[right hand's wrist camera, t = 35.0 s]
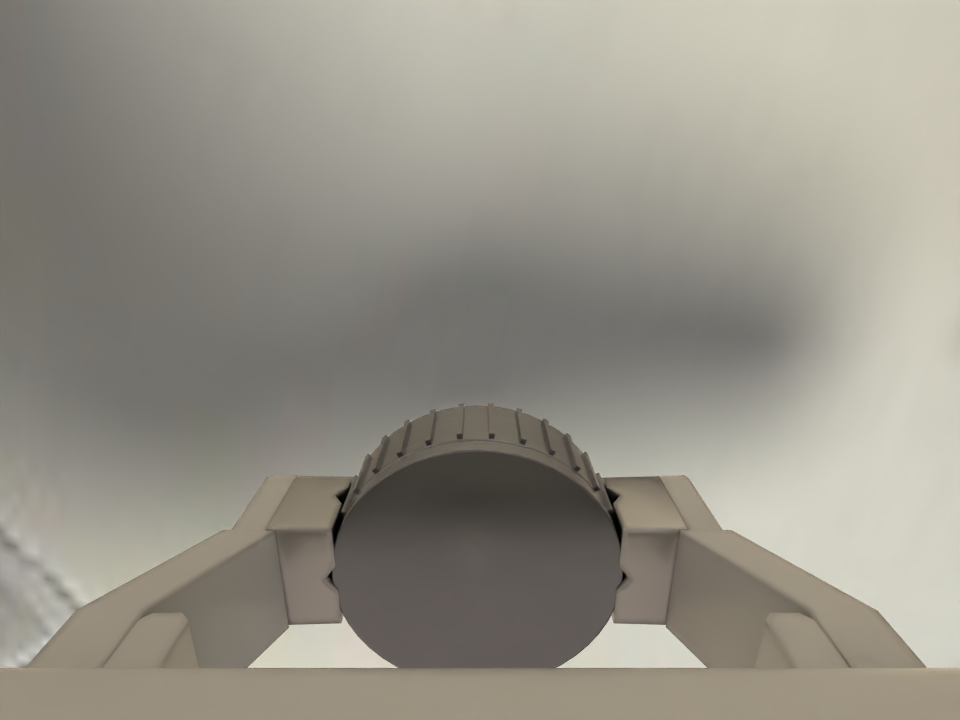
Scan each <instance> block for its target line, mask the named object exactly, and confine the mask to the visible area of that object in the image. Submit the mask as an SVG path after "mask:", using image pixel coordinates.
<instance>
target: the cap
mask: <svg viewBox="0 0 960 720" xmlns="http://www.w3.org/2000/svg"><path fill="white" fill-rule="evenodd" d="M612 513H614V511H613V508H612V506H611V503H610V500H609V498H608V495H607V492H606V490H605V487H604V484H603V482H602V479H601V476H600V474H599V473H597V474H595V472H594V470H593V467H592V464H591V461H590V459H589V456H588V454H587V453H586V452H584V453H582V452H581V451H580V449H579V448H578V447H577V446H576V445H575V444H574V443H573V442H572V439H571V436H570V435H569V434H566V435H564V434H562V433H561V432H560V431H559V430H557V429H555V428H554V427H552V426H550V425H549V423H548V420H546V419H543V420H539V419H537V418H535V417H532V416H530V415H528V414H525V413H522V410H521V409H518V408H517V410H516V411H515V410H511V409H506V408H500V407H494V406H493V404H488V406H464V404H459V407H455V408H450V409H445V410H440V411H437V412H436V410H435V409H434V410H431V411H430V414H428V415H425V416H422V417H420V418H418V419H416V420H414V421H412V422H410V421H409V420H407V421H406V422H404V426H403V427H402V428H400V429H398V430H397V431H395V432H394V433H393V434H392V435H390V436H389V437H388V436H386V435H385V436H384V437H383V438H382V441H381V444H380V445H379V447H378V448H377V449H376V450H375V451H374V452H373V453H372V454H371V455H369V454H367V456H366V457H365V460H364V462H363V465H362V468H361V470H360V473H359V476H356V475H355V477H354V479H353V482H352V485H351V487H350V490H349V492H348V495H347V498H346V500H345V503H344V505H343V508H342V511H341V513H340V516H343V519H342V522H341V525H340V527H339V530H338V533H337V536H336V540H335V543H334V556H335V567H334V568H333V570H332V582H333V584H334V586H335V587H336V588H337V589H338V593H339V603H340V609H341V611H342V613H343V615H344V617H345V618H346V620H347V622H348V624H349V625H350V626H351V628H352V629H353V630H354V632H355V633H356V634H357V636H358V637H359V638H360V639H361V640H362V641H363V642H364V643H365V644H366V645H367V646H368V647H369V648H370V649H372V650H373V651H374V652H375V653H377V654H378V655H379V656H380V657H382V658H383V659H385V660H386V661H388V662H390V663H391V664H393V665H395V666H396V667H398V668H556V667H558V666H560V665H562V664H564V663H565V662H567V661H568V660H570V659H571V658H573V657H574V656H576V655H577V654H578V653H580V652H581V651H582V650H583V649H584V648H586V647H587V646H588V645H589V644H590V643H591V642H592V641H593V640H594V639H595V637H596V636H597V635H598V634H599V633H600V632H601V630H602V629H603V627H604V626H605V625H606V623H607V622H608V620H609V618H610V616H611V614H612V612H613V611H614V608H615V600H616V589H617V588H618V587H619V586H620V585H621V583H622V580H623V570H622V569H621V567H620V566H619V560H620V550H621V543H620V540H619V537H618V534H617V531H616V528H615V525H614V522H613V520H612Z"/></svg>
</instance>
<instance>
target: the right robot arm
mask: <svg viewBox="0 0 960 720" xmlns="http://www.w3.org/2000/svg"><path fill="white" fill-rule="evenodd" d="M353 479H354V477H326V476H299V477H298V476H270V477H267V478H266V479H265V481H264V482H263V484H262V485H261V487H260V488H259V490H258V491H257V493H256V494H255V496H254V497H253V499H252V500H251V502H250V503H249V505H248V506H247V508H246V509H245V511H244V512H243V514H242V515H241V517H240V518H239V520H238V521H237V523H236V524H235V526H234V527H233V529H232V530H223V531H221V532H219V533H217V534H215V535H213V536H212V537H210V538H208V539H206V540H204V541H202V542H201V543H199V544H197V545H195V546H193V547H191V548H190V549H188V550H186V551H184V552H182V553H180V554H179V555H177V556H175V557H173V558H171V559H169V560H168V561H166V562H164V563H162V564H160V565H158V566H157V567H155V568H153V569H151V570H149V571H147V572H146V573H144V574H142V575H140V576H138V577H136V578H135V579H133V580H131V581H129V582H127V583H125V584H124V585H122V586H120V587H118V588H116V589H114V590H113V591H111V592H109V593H107V594H105V595H103V596H102V597H100V598H98V599H96V600H94V601H92V602H91V603H89V604H87V605H85V606H83V607H81V608H80V609H78V610H76V611H75V612H74V613H73V615H72V616H71V617H70V618H69V619H68V620H67V621H66V622H65V624H64V625H63V626H62V627H61V628H60V629H59V630H58V631H57V633H56V634H55V635H54V636H53V637H52V638H51V639H50V641H49V642H48V643H47V644H46V645H45V646H44V647H43V648H42V650H41V651H40V652H39V653H38V654H37V655H36V656H35V657H34V659H33V660H32V661H31V662H30V663H29V664H28V665H27V666H26V668H0V720H960V668H927V667H926V666H925V665H924V664H923V663H922V662H921V660H920V659H919V658H918V657H917V656H916V655H915V653H914V652H913V651H912V650H911V649H910V648H909V646H908V645H907V644H906V643H905V642H904V641H903V640H902V638H901V637H900V636H899V635H898V634H897V633H896V631H895V630H894V629H893V628H892V627H891V626H890V625H889V623H888V622H887V621H886V620H885V619H884V618H883V616H882V615H881V614H880V613H879V612H878V611H877V610H875V609H873V608H871V607H869V606H868V605H866V604H864V603H862V602H860V601H859V600H857V599H855V598H853V597H851V596H850V595H848V594H846V593H844V592H842V591H841V590H839V589H837V588H835V587H833V586H831V585H830V584H828V583H826V582H824V581H822V580H821V579H819V578H817V577H815V576H813V575H812V574H810V573H808V572H806V571H804V570H803V569H801V568H799V567H797V566H795V565H793V564H792V563H790V562H788V561H786V560H784V559H783V558H781V557H779V556H777V555H775V554H774V553H772V552H770V551H768V550H766V549H765V548H763V547H761V546H759V545H757V544H755V543H754V542H752V541H750V540H748V539H746V538H745V537H743V536H741V535H739V534H737V533H736V532H734V531H732V530H722V528H721V527H720V525H719V524H718V522H717V521H716V519H715V518H714V516H713V515H712V513H711V511H710V510H709V508H708V507H707V505H706V504H705V502H704V501H703V499H702V498H701V496H700V495H699V493H698V492H697V490H696V489H695V487H694V486H693V484H692V483H691V481H690V479H689V478H688V477H686V476H684V475H680V476H655V477H615V478H601V479H602V482H603V484H604V487H605V490H606V492H607V495H608V498H609V500H610V503H611V506H612V508H613V511H614V513H612V520H613V522H614V525H615V528H616V531H617V534H618V537H619V540H620V543H621V550H620V560H619V566H620V567H621V569H622V570H623V580H622V583H621V585H620V586H619V587H618V588H617V589H616V600H615V608H614V611H613V612H612V614H611V616H612V619H613V622H614V623H623V624H659V625H666V628H667V629H668V630H669V631H670V632H671V633H672V634H674V635H675V636H676V637H677V638H678V639H679V640H680V641H681V642H682V643H683V644H684V645H685V646H686V647H687V648H688V649H689V650H690V651H691V652H692V653H693V654H694V655H695V656H696V657H697V658H698V659H699V660H700V661H701V662H702V663H703V664H704V665H705V666H706V667H707V668H247V667H248V666H249V665H250V664H251V663H252V662H254V661H255V660H256V659H257V658H258V657H259V656H260V655H261V654H262V653H263V652H264V651H265V650H266V649H267V648H268V647H269V646H270V645H271V644H272V643H273V642H274V641H275V640H276V639H277V638H278V637H280V636H281V635H282V634H283V633H284V632H285V631H286V630H287V629H288V628H289V626H288V625H296V624H330V623H341V622H342V619H343V616H344V615H343V613H342V611H341V609H340V603H339V593H338V589H337V588H336V587H335V586H334V584H333V582H332V570H333V568H334V567H335V556H334V543H335V540H336V536H337V533H338V530H339V527H340V525H341V522H342V519H343V516H340V513H341V511H342V508H343V505H344V503H345V500H346V498H347V495H348V492H349V490H350V487H351V485H352V482H353Z"/></svg>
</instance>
